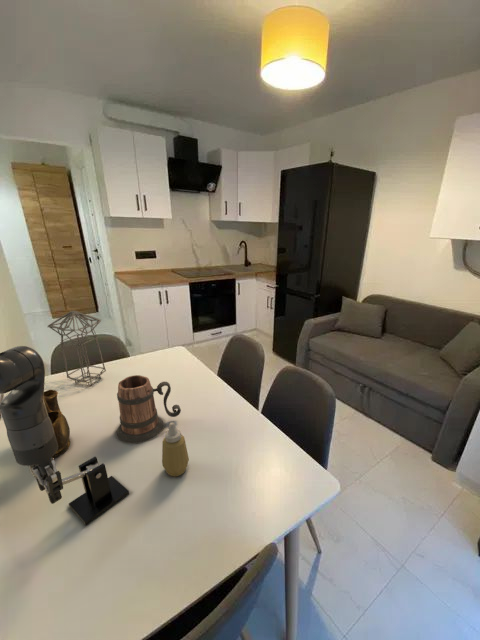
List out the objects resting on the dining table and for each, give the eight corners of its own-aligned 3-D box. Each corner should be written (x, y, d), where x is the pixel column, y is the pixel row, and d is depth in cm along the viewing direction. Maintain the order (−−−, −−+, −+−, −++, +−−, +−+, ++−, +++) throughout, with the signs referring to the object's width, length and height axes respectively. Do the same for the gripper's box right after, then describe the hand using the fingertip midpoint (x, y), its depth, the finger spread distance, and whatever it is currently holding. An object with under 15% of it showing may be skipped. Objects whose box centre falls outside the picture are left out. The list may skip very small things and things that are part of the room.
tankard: (116, 448, 99) (106, 398, 91) (116, 420, 113) (107, 375, 105) (185, 431, 109) (181, 385, 101) (177, 407, 123) (173, 365, 115)
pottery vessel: (78, 464, 92) (64, 412, 84) (35, 480, 86) (16, 425, 78) (68, 423, 110) (56, 377, 102) (33, 433, 104) (17, 385, 96)
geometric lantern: (113, 376, 144) (101, 308, 130) (89, 392, 130) (73, 317, 116) (86, 372, 147) (72, 304, 133) (60, 387, 133) (40, 313, 119)
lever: (49, 498, 66) (50, 489, 66) (40, 487, 69) (41, 478, 69) (102, 476, 77) (103, 468, 76) (93, 468, 79) (93, 460, 79)
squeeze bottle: (190, 459, 96) (187, 414, 89) (188, 478, 89) (185, 431, 82) (165, 461, 95) (159, 416, 88) (161, 481, 88) (155, 433, 80)
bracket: (86, 525, 74) (75, 489, 69) (69, 506, 79) (58, 471, 73) (129, 493, 83) (122, 459, 78) (112, 478, 88) (105, 445, 83)
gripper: (-1, 432, 63) (20, 489, 70) (25, 463, 56) (46, 523, 62) (39, 416, 69) (55, 470, 75) (67, 442, 61) (82, 499, 68)
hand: (51, 493), depth 69 cm, fingers closed on lever, 5 cm apart
